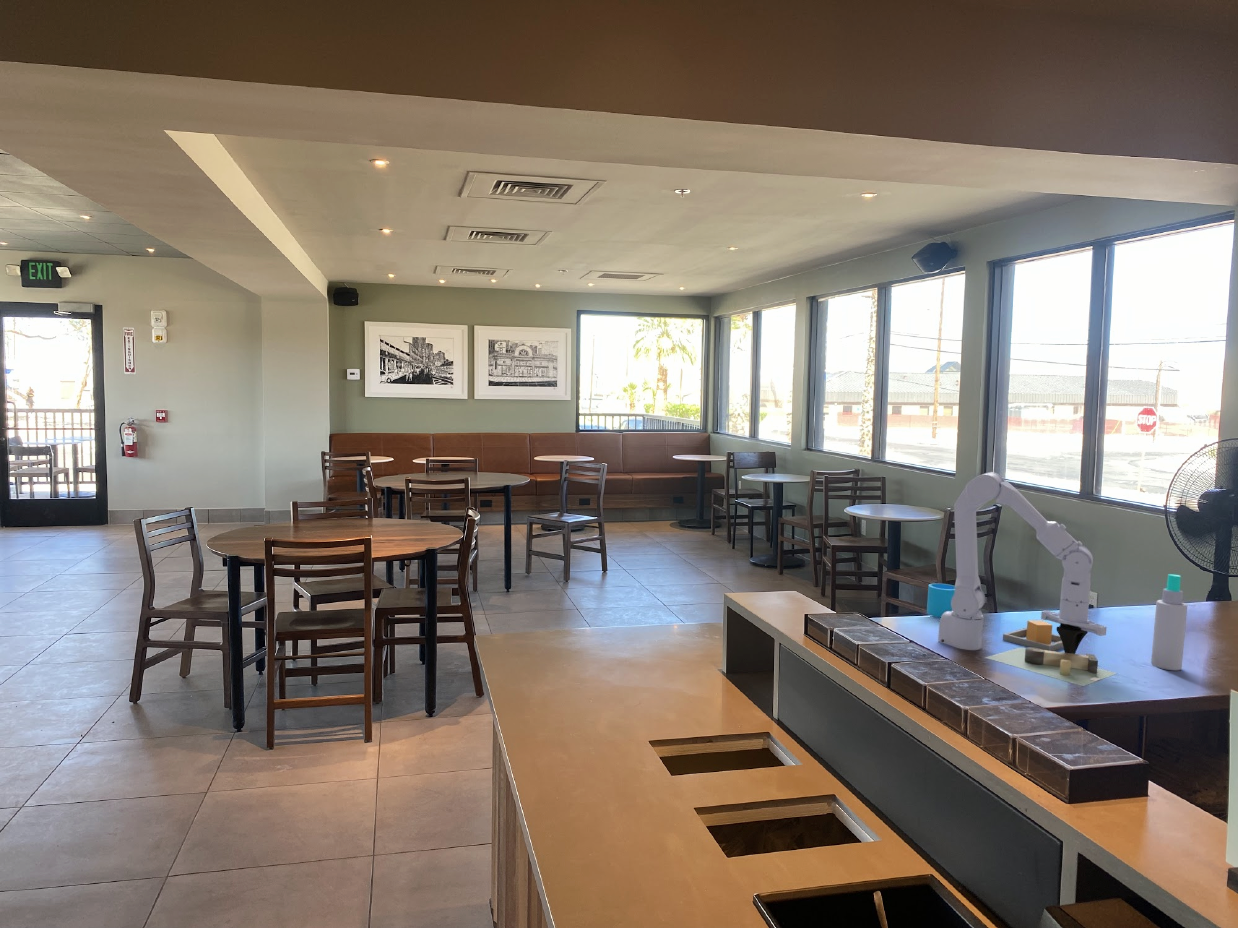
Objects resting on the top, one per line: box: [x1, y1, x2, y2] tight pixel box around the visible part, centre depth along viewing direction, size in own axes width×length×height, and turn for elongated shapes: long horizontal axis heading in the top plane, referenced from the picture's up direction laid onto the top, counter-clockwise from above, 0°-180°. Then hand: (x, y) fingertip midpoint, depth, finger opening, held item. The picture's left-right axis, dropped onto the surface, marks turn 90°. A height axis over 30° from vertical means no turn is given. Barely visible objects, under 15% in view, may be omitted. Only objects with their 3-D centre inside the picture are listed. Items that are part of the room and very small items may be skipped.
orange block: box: [1025, 620, 1053, 645], centre depth 205 cm, size 4×4×6 cm
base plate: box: [984, 646, 1118, 687], centre depth 187 cm, size 22×16×4 cm
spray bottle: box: [1150, 573, 1188, 672], centre depth 193 cm, size 6×6×22 cm
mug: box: [926, 583, 955, 618], centre depth 235 cm, size 12×8×8 cm
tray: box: [1002, 627, 1064, 652], centre depth 206 cm, size 12×12×3 cm
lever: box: [1025, 647, 1099, 673], centre depth 187 cm, size 14×5×3 cm, turn 69°
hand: (1069, 657), depth 189 cm, fingers closed
